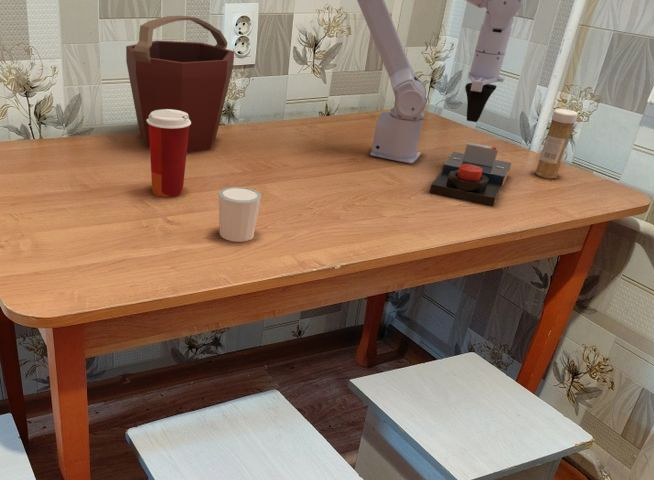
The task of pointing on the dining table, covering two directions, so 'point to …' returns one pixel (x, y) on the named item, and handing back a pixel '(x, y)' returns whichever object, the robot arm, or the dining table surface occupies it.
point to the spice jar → (556, 143)
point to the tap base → (494, 173)
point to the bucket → (180, 80)
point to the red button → (470, 172)
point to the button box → (466, 188)
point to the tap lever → (480, 154)
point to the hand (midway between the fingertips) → (472, 120)
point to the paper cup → (168, 150)
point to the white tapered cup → (238, 213)
